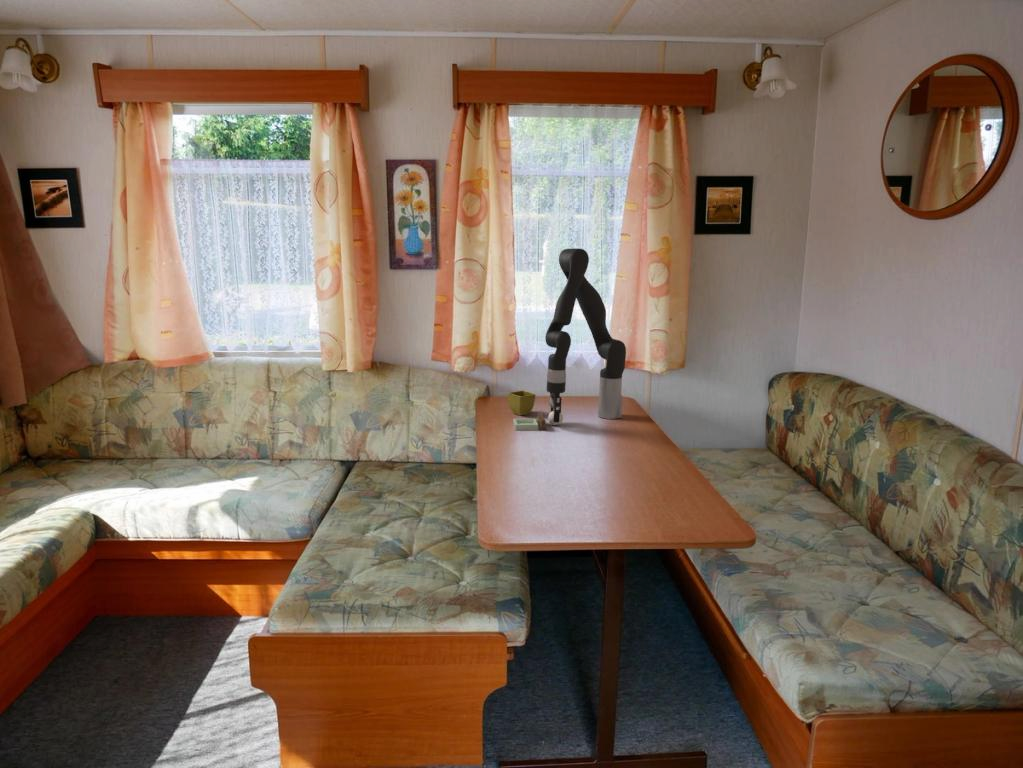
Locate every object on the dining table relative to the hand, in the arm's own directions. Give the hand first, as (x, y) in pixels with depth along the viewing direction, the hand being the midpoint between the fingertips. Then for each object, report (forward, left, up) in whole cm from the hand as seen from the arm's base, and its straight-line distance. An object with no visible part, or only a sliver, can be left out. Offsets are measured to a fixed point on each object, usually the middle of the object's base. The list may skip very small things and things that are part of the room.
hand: (554, 419), depth 275 cm
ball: (0, 0, -2) cm, 2 cm away
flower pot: (+12, -18, -3) cm, 22 cm away
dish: (+12, +2, -2) cm, 12 cm away
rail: (+6, +1, -2) cm, 6 cm away
